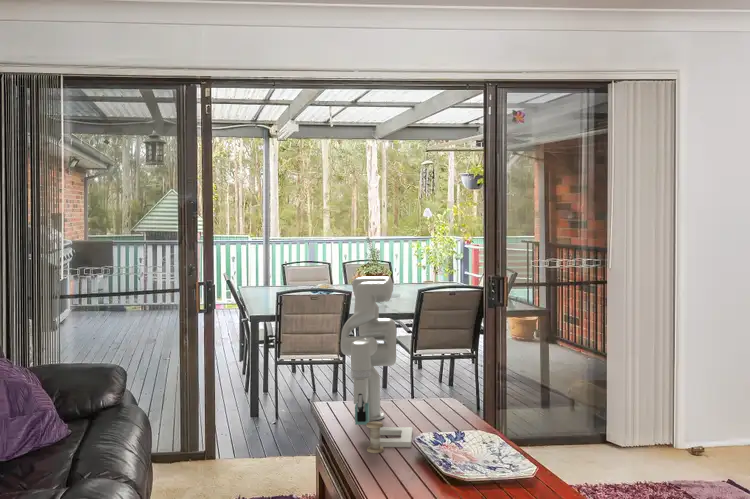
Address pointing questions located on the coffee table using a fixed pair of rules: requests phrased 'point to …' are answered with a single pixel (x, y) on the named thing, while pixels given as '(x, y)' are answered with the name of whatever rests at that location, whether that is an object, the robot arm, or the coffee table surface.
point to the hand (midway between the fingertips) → (362, 418)
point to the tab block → (366, 415)
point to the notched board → (396, 442)
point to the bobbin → (375, 437)
